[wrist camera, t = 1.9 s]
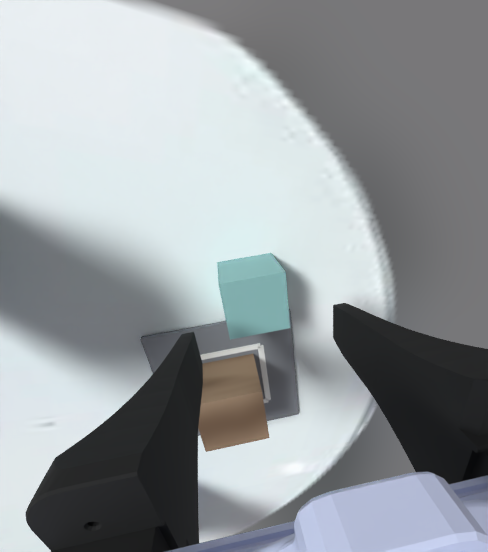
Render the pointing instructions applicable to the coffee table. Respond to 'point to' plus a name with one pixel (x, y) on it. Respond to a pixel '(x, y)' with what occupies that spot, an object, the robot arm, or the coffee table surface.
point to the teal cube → (253, 295)
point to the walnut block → (231, 403)
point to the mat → (265, 347)
